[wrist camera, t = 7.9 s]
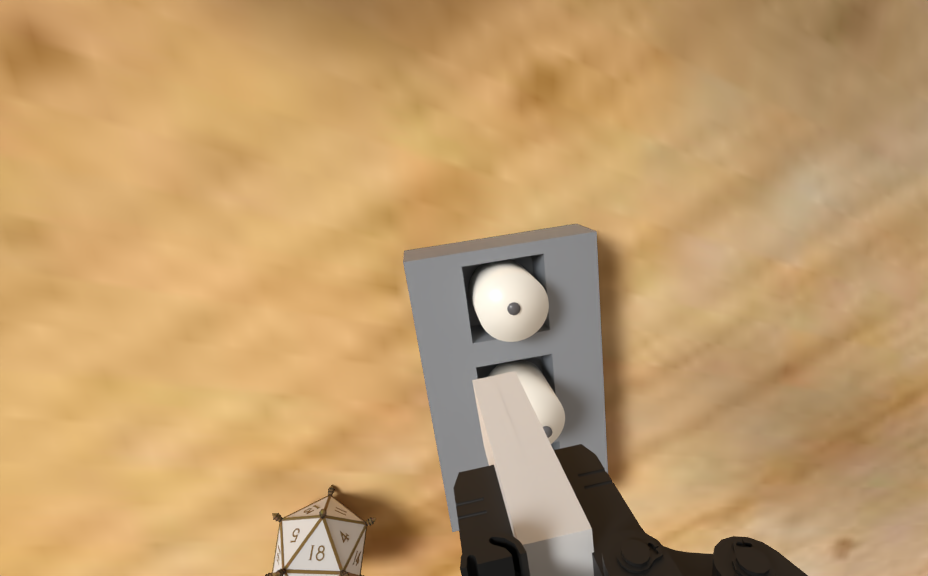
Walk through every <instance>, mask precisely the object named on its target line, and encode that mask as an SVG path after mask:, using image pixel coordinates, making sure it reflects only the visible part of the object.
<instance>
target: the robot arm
mask: <svg viewBox="0 0 928 576" xmlns="http://www.w3.org/2000/svg"><path fill="white" fill-rule="evenodd" d="M472 381H473V387H474V393H475V398H476V404H477V410H478V415H479V421H480V427H481V432H482V438H483V444H484V448H485V452H486V456H487V460H488V464H489V466H486V467H481V468H477V469H472V470H468V471H463V472H459V473H458V476H457V479H456V482H455V485H454V488H453V489H454V496H455V503H456V510H457V517H458V525H459V532H460V540H461V547H462V556H461V566H460V570H461V574H462V576H808V575H806V574H805V573H804V572H803V571H801V570H800V569H799V568H798V567H796V566H795V565H794V564H793V563H791V562H790V561H789V560H787V559H786V558H785V557H784V556H782V555H781V554H780V553H779V552H777V551H776V550H774V549H773V548H771V547H769V546H768V545H766V544H765V543H763V542H760V541H757V540H754V539H751V538H748V537H735V536H733V537H729V538H726V539H722V540H721V541H720V542H719V543H718V544H717V545H716V546H715V548H714V553H713V554H703V553H689V552H681V551H676V550H672V549H670V548H667V547H664V546H662V545H661V544H660V542H659V541H658V540H656V539H655V538H653V537H651V536H649V535H648V534H646V533H645V532H644V531H643V529H642V528H641V527H640V525H639V523H638V522H637V520H636V519H635V517H634V515H633V514H632V512H631V510H630V509H629V507H628V506H627V504H626V502H625V501H624V499H623V498H622V496H621V494H620V493H619V491H618V489H617V488H616V486H615V485H614V483H612V480H611V478H610V477H609V475H608V473H607V472H605V468H604V467H603V465H602V464H601V462H600V460H599V459H598V457H597V456H596V454H594V453H593V452H592V451H590V450H589V449H588V448H586V447H585V446H583V445H582V444H579V445H574V446H570V447H565V448H561V449H556V450H553V448H552V446H551V444H550V442H549V440H548V438H547V436H546V434H545V431H544V429H543V427H542V425H541V423H540V421H539V419H538V417H537V415H536V413H535V411H534V409H533V407H532V405H531V403H530V401H529V399H528V397H527V395H526V393H525V390H524V388H523V386H522V384H521V382H520V380H519V378H518V376H517V374H516V372H515V371H514V372H509V373H504V374H500V375H495V376H490V377H485V378H480V379H476V380H472Z"/></svg>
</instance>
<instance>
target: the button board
mask: <svg viewBox="0 0 928 576" xmlns="http://www.w3.org/2000/svg"><path fill="white" fill-rule="evenodd" d="M507 259H511V260H514V261H516V262H517V263H519V264H520V265H521V266H522V267H523V268H525V269H526V270H527V271H528V272H529V273H530V274H531V275H532V276H533V277H534V278H535V279H536V280H537V281H538V282H539V283H540V284H541V285H542V286H543V288H544V289H545V291H546V293H547V296H548V301H549V309H548V314H547V317H546V320H545V322H544V324H543V325H542V326H541V328H540V329H539V330H538V331H537V332H536V333H535V334H533V335H532V336H530V337H528V338H526V339H524V340H521V341H516V342H506V341H501V340H498V339H496V338H494V337H492V336H491V335H489V334H488V333H487V332H486V331H485V329H484V328H483V327H482V325H481V323H480V321H479V318H478V316H477V314H476V311H475V309H474V307H473V304H472V302H471V299H470V296H469V283H470V279H471V277H472V275H473V273H474V272H475V270H476V269H477V268H478V267H479V266H480V265H481V264H483V263H489V262H495V261H501V260H507ZM403 263H404V269H405V274H406V280H407V285H408V290H409V296H410V301H411V307H412V312H413V318H414V323H415V329H416V334H417V340H418V345H419V351H420V356H421V362H422V367H423V373H424V378H425V384H426V389H427V395H428V400H429V406H430V411H431V417H432V422H433V428H434V433H435V439H436V444H437V450H438V455H439V461H440V466H441V472H442V477H443V483H444V488H445V494H446V499H447V505H448V510H449V516H450V521H451V527H452V532H455V531H459V525H458V517H457V510H456V503H455V496H454V489H453V488H454V485H455V482H456V479H457V476H458V473H459V472H463V471H468V470H472V469H477V468H481V467H486V466H489V464H488V460H487V456H486V452H485V448H484V444H483V438H482V432H481V427H480V421H479V415H478V410H477V404H476V398H475V393H474V387H473V381H472V380H476V379H480V378H485V377H488V375H489V374H490V372H491V371H492V370H493V369H494V368H495V367H496V366H498V365H499V364H501V363H504V362H509V361H515V360H520V359H522V360H526V361H529V362H531V363H533V364H535V365H536V366H537V367H538V368H539V369H540V371H541V372H542V374H543V375H544V377H545V379H546V380H547V382H548V383H549V385H550V387H551V388H552V390H553V392H554V393H555V395H556V396H557V398H558V400H559V401H560V403H561V404H562V406H563V409H564V412H565V424H564V427H563V430H562V432H561V434H560V435H559V437H558V438H557V439H556V440H555V441H554V442H553V443H552V444H551V446H552V448H553V450H556V449H561V448H565V447H570V446H574V445H579V444H582V445H583V446H585V447H586V448H588V449H589V450H590V451H592V452H593V453H594V454H596V456H597V457H598V459H599V460H600V462H601V464H602V465H603V467H604V468H605V472H607V473H608V464H607V443H606V421H605V400H604V379H603V358H602V337H601V316H600V295H599V274H598V253H597V232H596V231H594V230H591V229H589V228H586V227H584V226H581V225H578V224H572V225H565V226H559V227H553V228H546V229H540V230H534V231H527V232H521V233H515V234H508V235H502V236H496V237H489V238H483V239H476V240H470V241H464V242H457V243H451V244H445V245H438V246H432V247H426V248H419V249H413V250H407V251H404V260H403Z"/></svg>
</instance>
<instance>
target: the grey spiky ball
mask: <svg viewBox="0 0 928 576" xmlns="http://www.w3.org/2000/svg"><path fill="white" fill-rule="evenodd" d="M334 490H335V489H334V488H333V485H331V487H330V488H329V489H328V496H326V497H324V498H322V499H320V500H318V501H316V502H314V503H312V504H310V505H308V506H306V507H304V508H302V509H300V510H298V511H296V512H294V513H292V514H290V515H288V516H286V517H284V518H282V517H281V515H279V513H272V515H273V518H274V519H275V520H276V521H279V522H280V524H279V530H278V537H277V543H276V550H275V557H274V563H273V570H272V573H268V574H266V575H265V576H362V575H361V568H362V560H363V553H364V545H365V537H366V530H367V526H368V525H371V524H373V523H374V521H375V520H376V518H370V519H368V520H367V521H366V522H365V521H364V520H363V519H361V518H360V517H359V516H357V515H356V514H355V513H353V512H352V511H351V510H350V509H348V508H347V507H346V506H344V505H343V504H342V503H341V502H339V501H338V500H337V499H335V498H334V497H333V496H332V494H333V493H334ZM274 519H273V520H274ZM363 576H364V575H363Z"/></svg>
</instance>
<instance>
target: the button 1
mask: <svg viewBox="0 0 928 576" xmlns="http://www.w3.org/2000/svg"><path fill="white" fill-rule="evenodd" d="M469 296H470V299H471V302H472V304H473V307H474V309H475V311H476V314H477V316H478V318H479V321H480V323H481V325H482V327H483V328H484V329H485V331H486V332H487V333H488V334H489V335H491V336H492V337H494V338H496V339H498V340H501V341H506V342H516V341H521V340H524V339H526V338H528V337H530V336H532V335H533V334H535V333H536V332H537V331H538V330H539V329H540V328H541V326H542V325H543V324H544V322H545V320H546V317H547V314H548V309H549V301H548V296H547V293H546V291H545V289H544V288H543V286H542V285H541V284H540V283H539V282H538V281H537V280H536V279H535V278H534V277H533V276H532V275H531V274H530V273H529V272H528V271H527V270H526V269H525V268H523V267H522V266H521V265H520V264H519V263H517V262H516V261H514V260H511V259H507V260H501V261H495V262H489V263H483V264H481V265H480V266H479V267H478V268H477V269H476V270H475V272H474V273H473V275H472V277H471V279H470V283H469Z"/></svg>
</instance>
